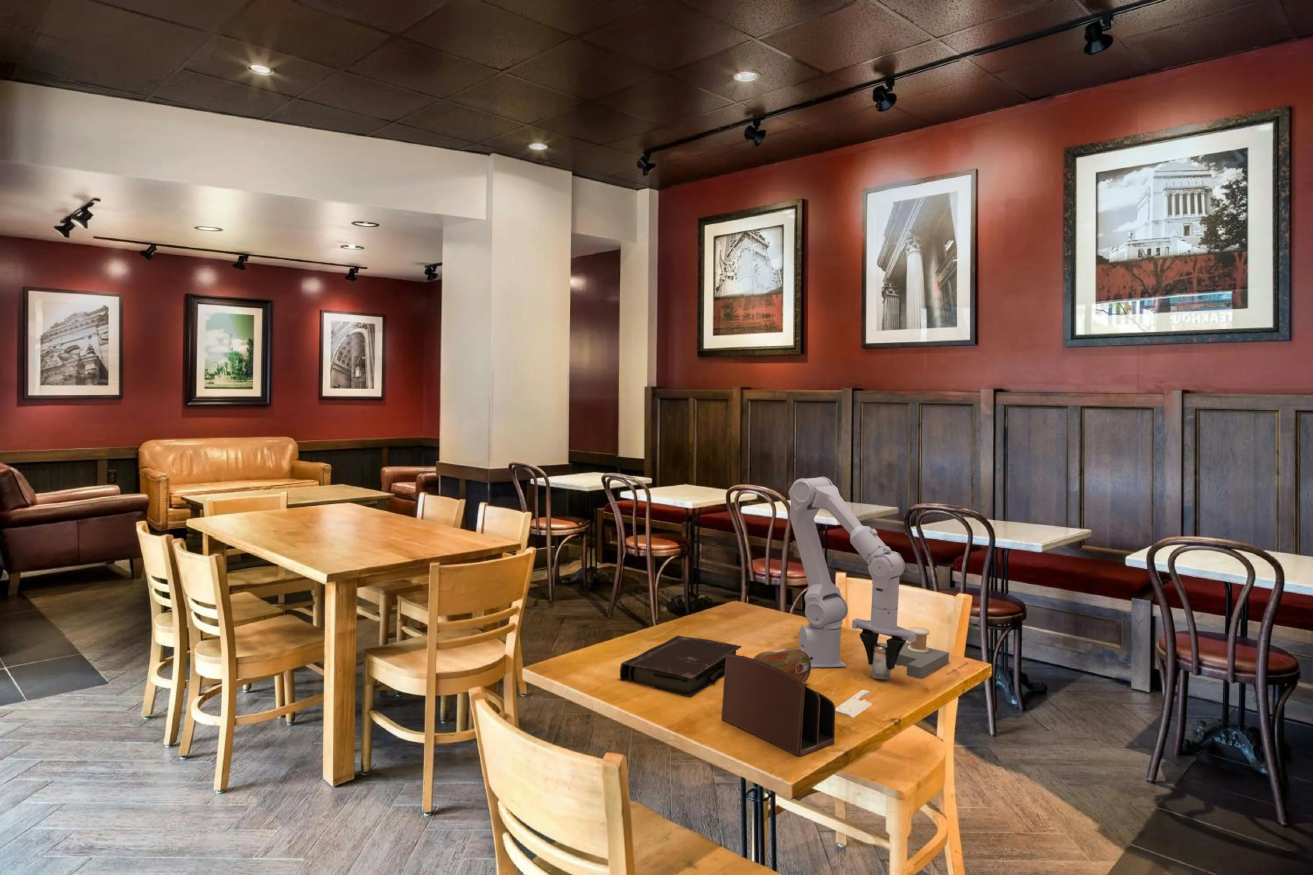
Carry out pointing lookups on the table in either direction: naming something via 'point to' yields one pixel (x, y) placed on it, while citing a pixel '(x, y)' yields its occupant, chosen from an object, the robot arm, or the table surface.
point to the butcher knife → (854, 705)
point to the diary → (680, 665)
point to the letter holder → (776, 706)
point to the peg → (880, 661)
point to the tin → (788, 662)
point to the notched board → (921, 655)
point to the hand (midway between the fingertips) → (881, 666)
